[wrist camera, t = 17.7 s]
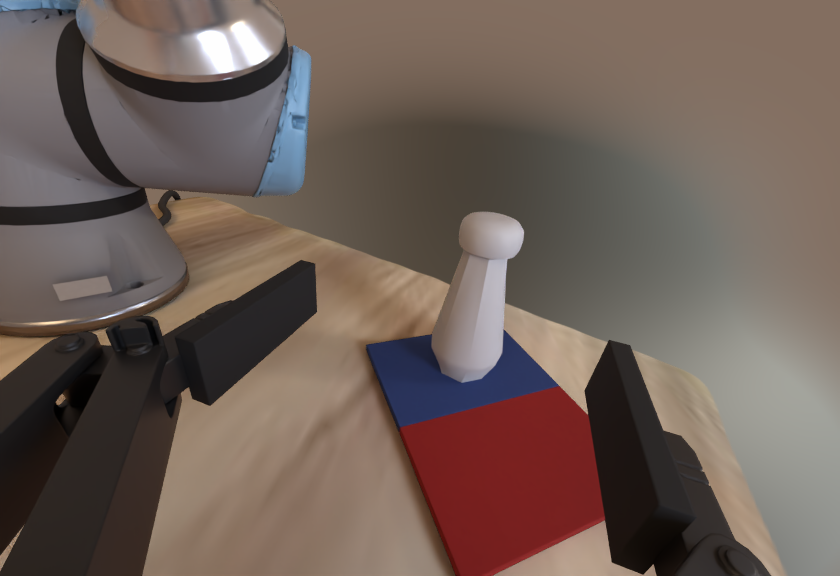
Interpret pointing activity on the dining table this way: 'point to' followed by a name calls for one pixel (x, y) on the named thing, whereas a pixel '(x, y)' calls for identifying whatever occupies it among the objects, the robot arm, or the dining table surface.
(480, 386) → the sorting mat
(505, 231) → the salt shaker
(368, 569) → the dining table surface
